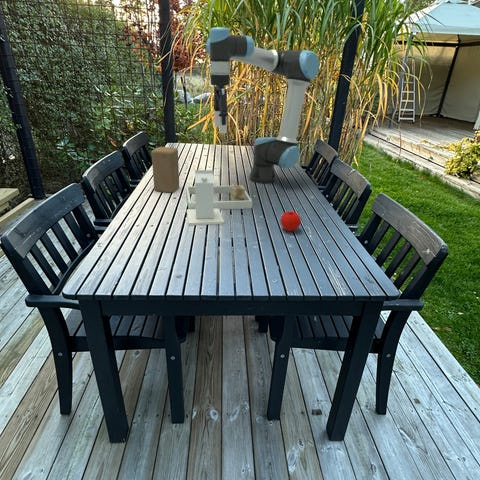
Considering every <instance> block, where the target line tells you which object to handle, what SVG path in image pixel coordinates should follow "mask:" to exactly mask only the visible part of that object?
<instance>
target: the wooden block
mask: <svg viewBox="0 0 480 480" xmlns="http://www.w3.org/2000/svg"><path fill="white" fill-rule="evenodd" d="M150 153H151V163H152V178H153V189H154V191H155V192H164V193H171V194H172V193H174V192H175V191H176V190H177V189H179V187H180V174H179V173H180V171H179V170H180V169H179V166H180V165H179V150H178V148H176V147H167V146H159V147H156V148H154V149H153V150H151V152H150Z"/></svg>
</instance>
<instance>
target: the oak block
mask: <svg viewBox="0 0 480 480" xmlns="http://www.w3.org/2000/svg"><path fill="white" fill-rule="evenodd" d="M238 185H239V184H238ZM230 186H231V193H230V199H229V201H245V190H246V188H245V187H244V186H243V185H242V186H243V187H242V186H241V184H240V185H239V186H236V185H230Z"/></svg>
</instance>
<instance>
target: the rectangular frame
mask: <svg viewBox="0 0 480 480" xmlns="http://www.w3.org/2000/svg"><path fill="white" fill-rule="evenodd" d="M240 185H241V184H240ZM231 186H232V185H214V194H231ZM235 186H239V184H237V185H235ZM241 186H242V187H244V185H241ZM185 195H186V203H187V207H188V209H196V203H195V201H192V200H191V196H190V195H195V185H194V186H191V185H190V186H185ZM191 201H192V202H191ZM215 208H219V210H220V211H222V210H243V209H246V210H247V209H253V200H252V198H251V197H250V196H249V194H248V192H247V191H246V189H245V201H230V200H221V201H220V200H219V201H218V200H217V201H214V205H213V209H215Z"/></svg>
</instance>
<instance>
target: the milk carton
mask: <svg viewBox="0 0 480 480" xmlns="http://www.w3.org/2000/svg"><path fill="white" fill-rule="evenodd" d="M214 179H215V178H214V170H212V169H211V170H210V169H207V170H206V169H205V170H204V169H195V170H194V186H195V194H194V198H195V200H194V202H195V203H196V218H213V205H214V198H215V197H214V194H215V193H214V186H215V184H214V183H215V182H214V181H215V180H214Z"/></svg>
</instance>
